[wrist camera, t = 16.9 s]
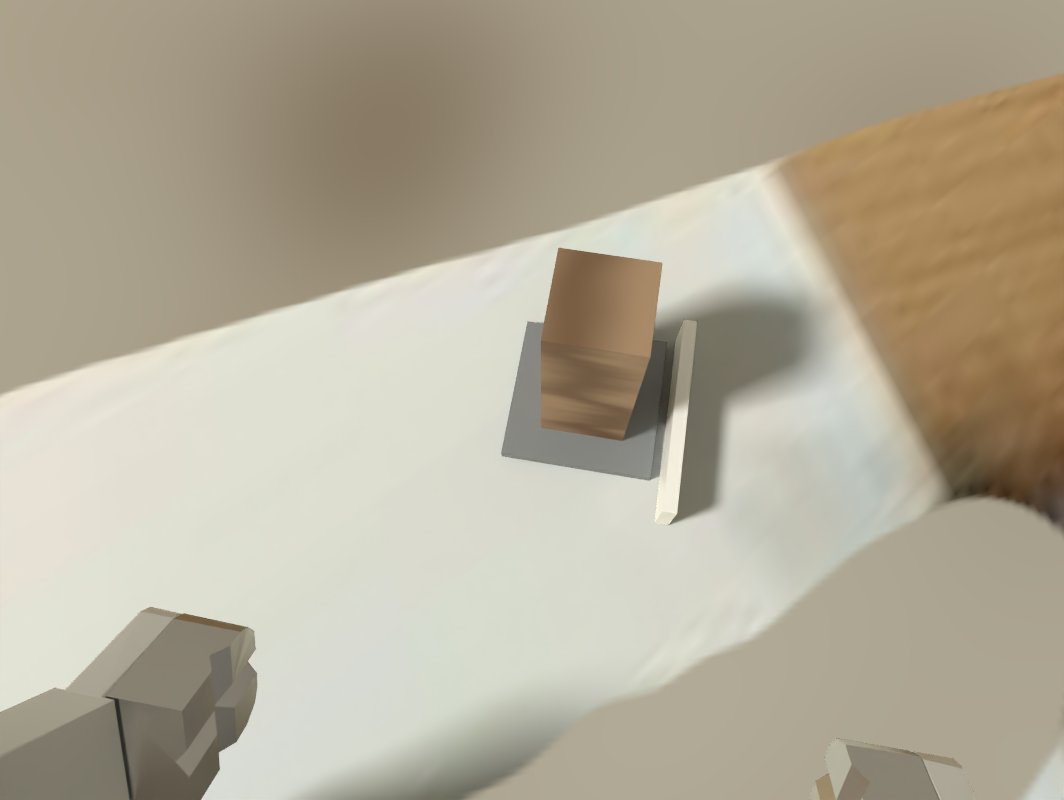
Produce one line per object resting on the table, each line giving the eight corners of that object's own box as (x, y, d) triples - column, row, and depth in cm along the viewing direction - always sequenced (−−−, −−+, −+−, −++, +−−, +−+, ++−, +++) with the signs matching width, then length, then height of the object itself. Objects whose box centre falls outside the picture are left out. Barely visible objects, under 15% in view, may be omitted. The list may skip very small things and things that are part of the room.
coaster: (665, 346, 47) (667, 342, 46) (649, 480, 44) (650, 477, 43) (527, 325, 48) (527, 321, 47) (501, 455, 44) (501, 452, 44)
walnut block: (632, 366, 46) (662, 262, 35) (622, 441, 44) (650, 357, 33) (554, 354, 46) (558, 247, 35) (540, 427, 44) (540, 340, 33)
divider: (687, 343, 47) (697, 321, 44) (668, 525, 43) (677, 513, 40) (675, 341, 47) (683, 319, 44) (654, 522, 43) (662, 511, 40)
